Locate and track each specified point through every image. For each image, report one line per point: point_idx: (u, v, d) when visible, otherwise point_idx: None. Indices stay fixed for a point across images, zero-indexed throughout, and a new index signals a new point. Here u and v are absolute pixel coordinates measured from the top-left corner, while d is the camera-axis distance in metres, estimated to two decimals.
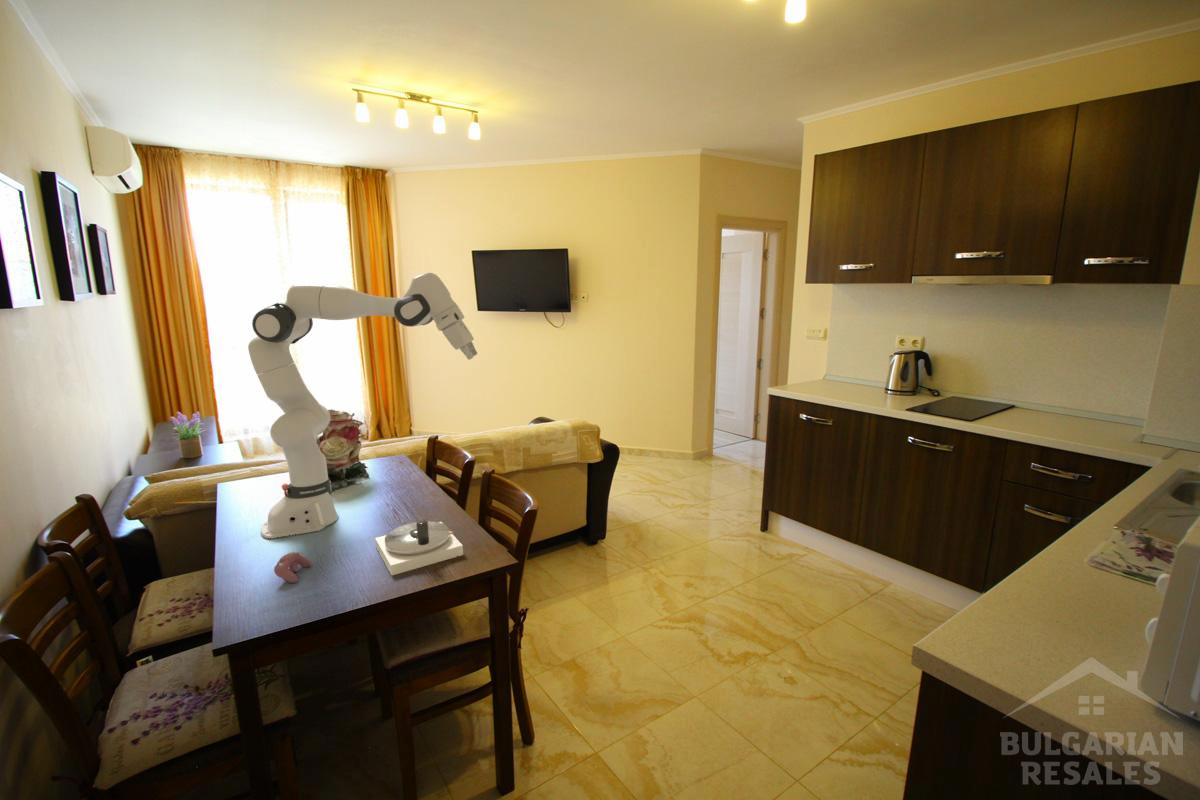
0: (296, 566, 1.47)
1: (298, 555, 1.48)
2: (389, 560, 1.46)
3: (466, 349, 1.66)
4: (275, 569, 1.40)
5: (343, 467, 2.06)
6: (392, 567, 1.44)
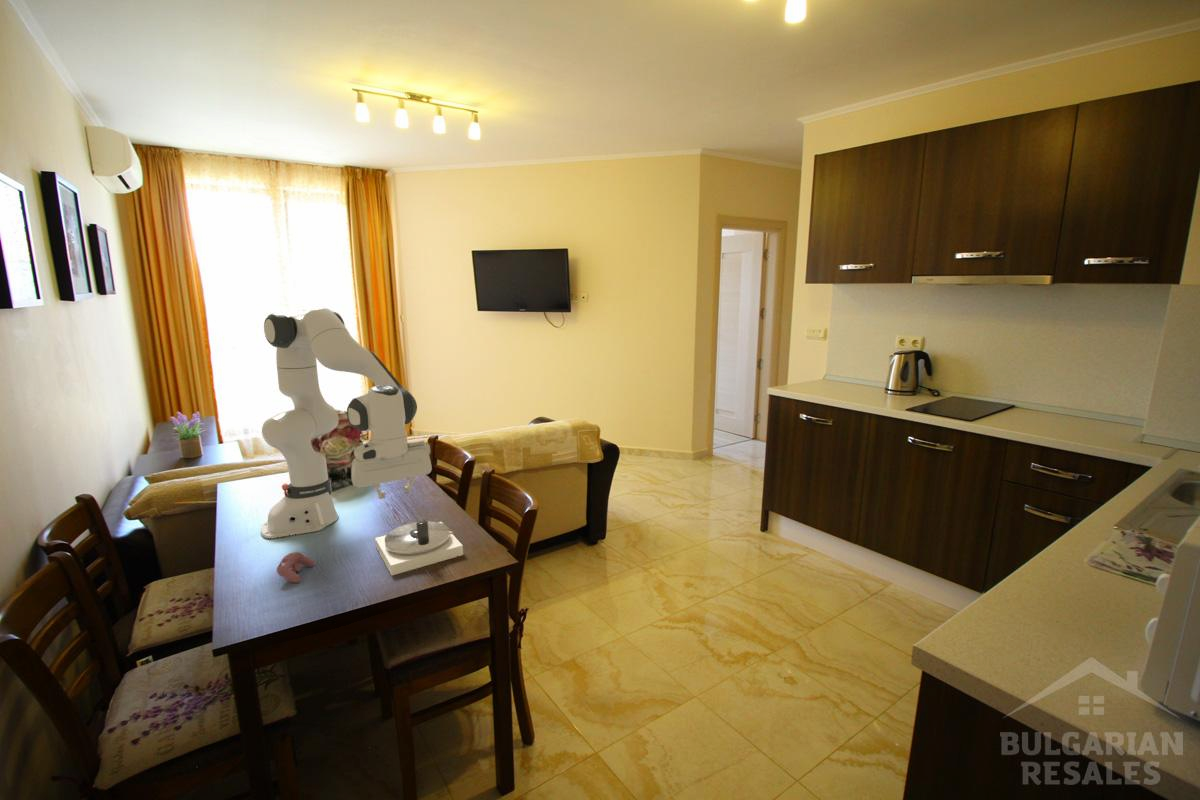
0: (298, 566, 1.47)
1: (300, 555, 1.48)
2: (389, 560, 1.46)
3: None
4: (278, 569, 1.40)
5: (345, 466, 2.07)
6: (392, 567, 1.44)
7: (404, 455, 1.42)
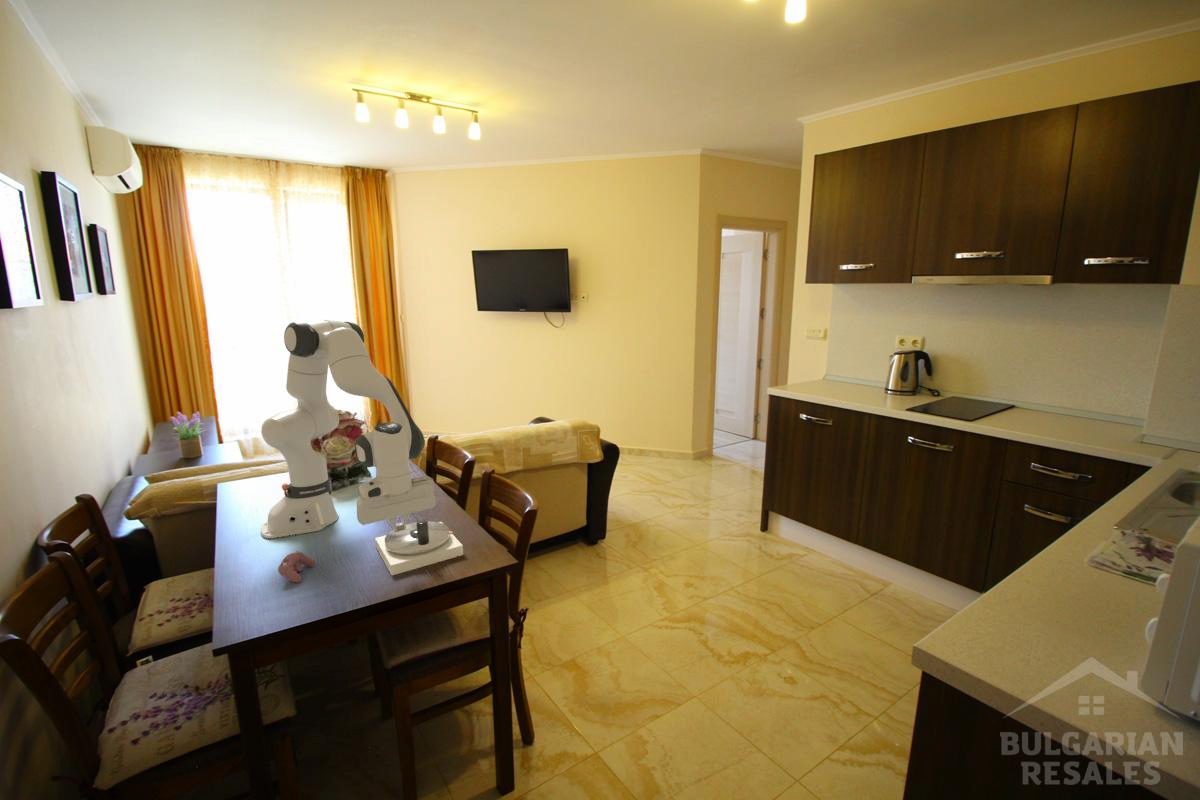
0: (300, 566, 1.47)
1: (302, 555, 1.48)
2: (389, 560, 1.46)
3: (390, 522, 1.44)
4: (279, 569, 1.40)
5: (346, 466, 2.08)
6: (392, 567, 1.44)
7: (408, 491, 1.45)
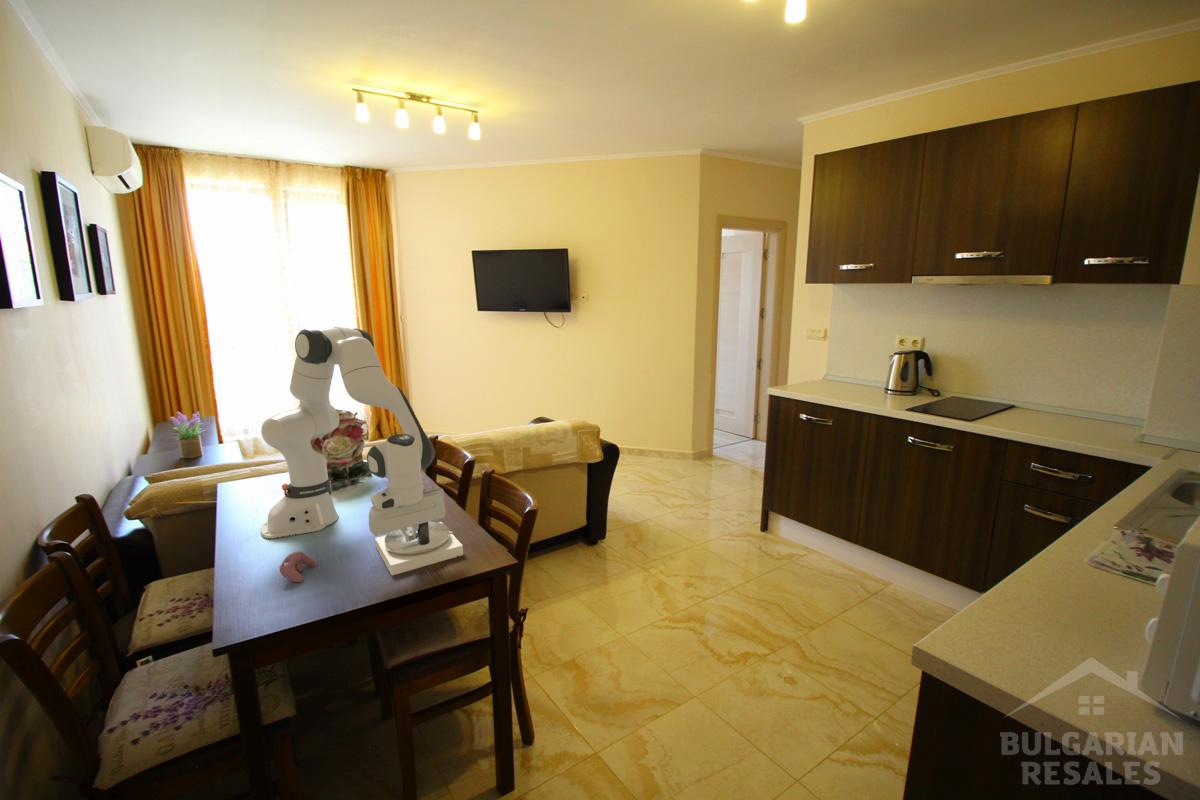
0: (301, 566, 1.47)
1: (303, 555, 1.48)
2: (389, 560, 1.46)
3: None
4: (280, 569, 1.40)
5: (347, 466, 2.08)
6: (392, 567, 1.44)
7: (420, 501, 1.47)
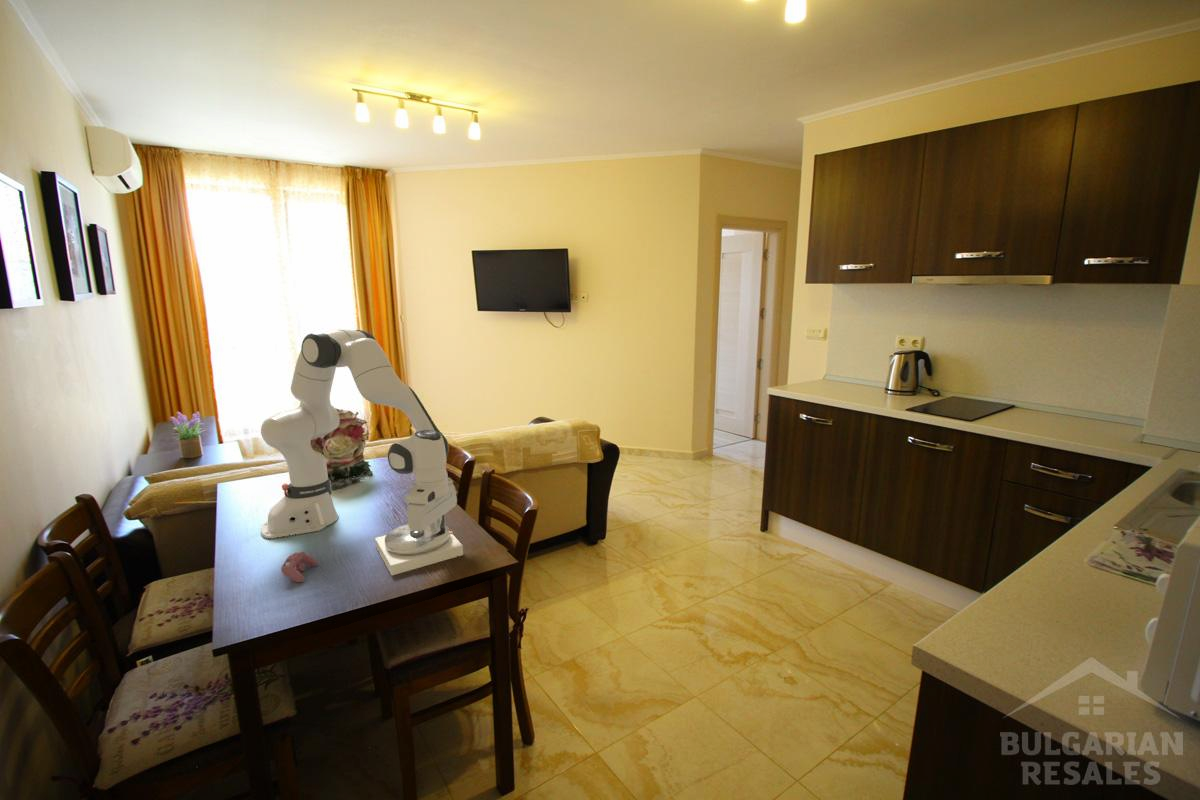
0: (302, 566, 1.47)
1: (304, 555, 1.48)
2: (389, 560, 1.46)
3: (433, 525, 1.51)
4: (282, 569, 1.40)
5: (348, 465, 2.09)
6: (392, 567, 1.44)
7: None
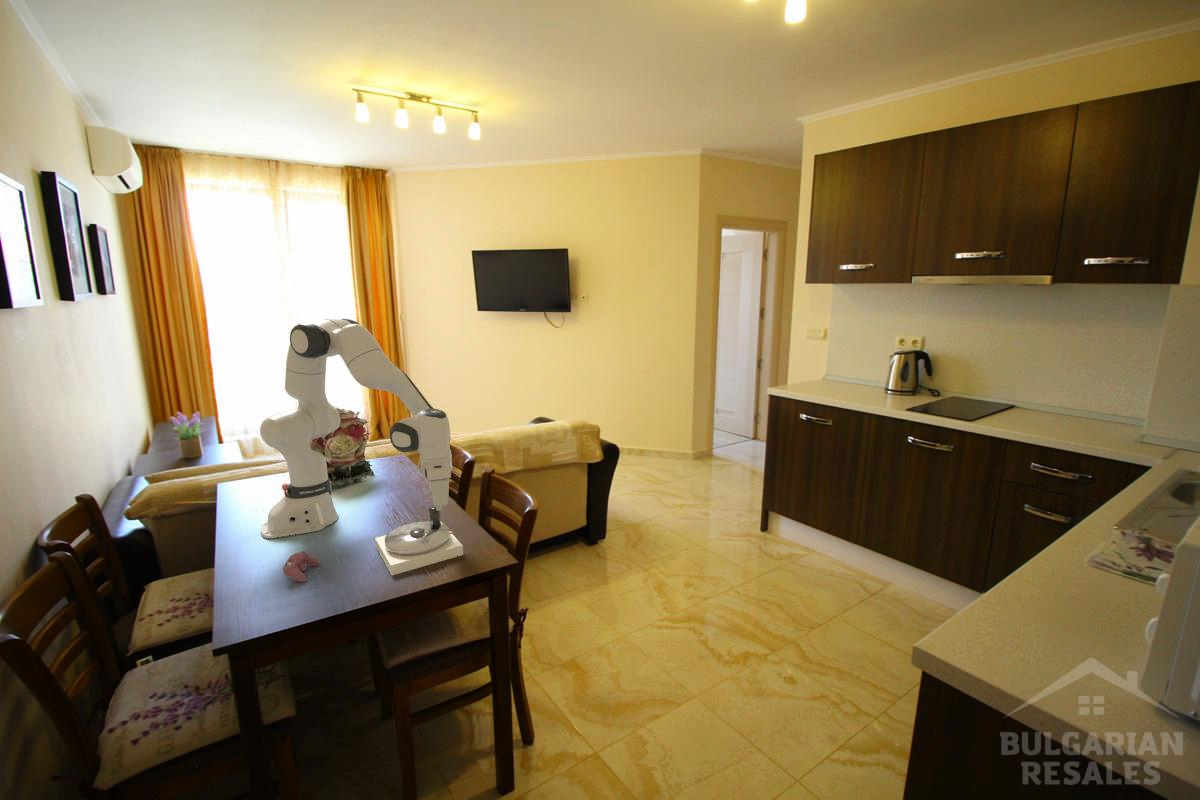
0: (304, 565, 1.47)
1: (306, 554, 1.48)
2: (389, 560, 1.46)
3: None
4: (284, 568, 1.40)
5: (349, 465, 2.09)
6: (392, 567, 1.44)
7: None
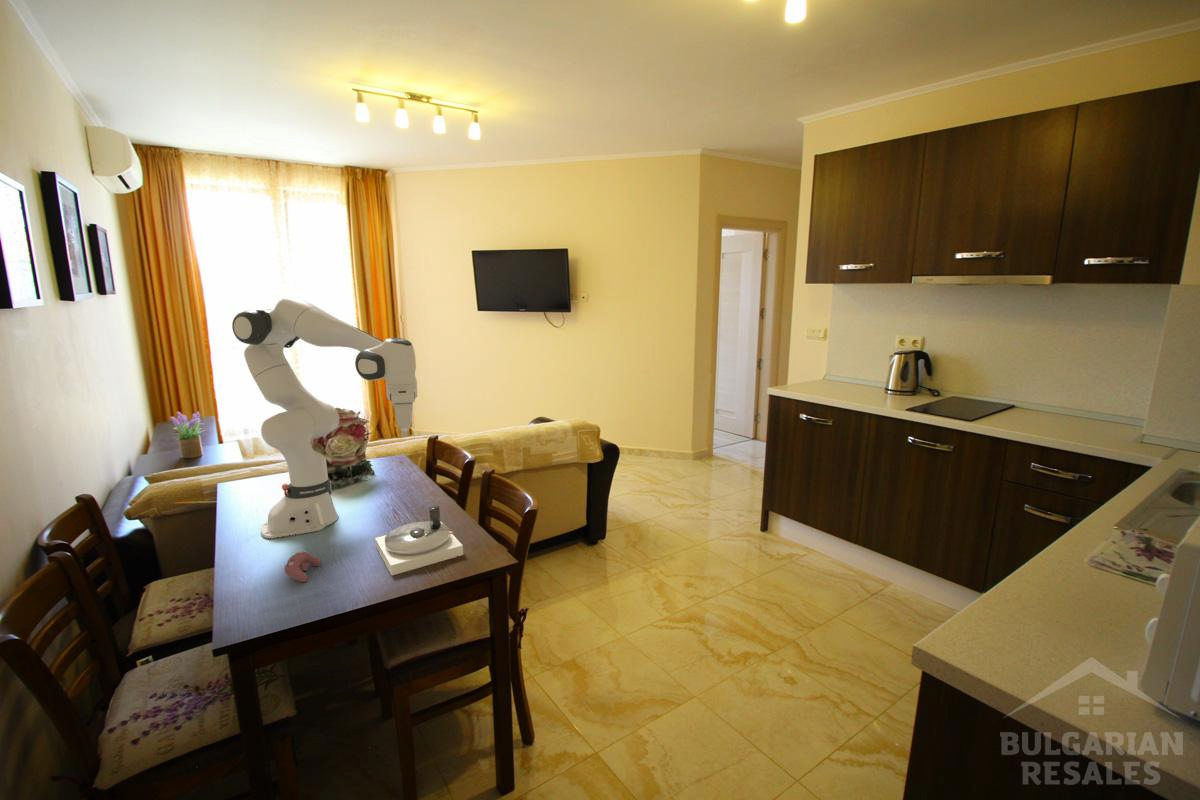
0: (305, 565, 1.47)
1: (307, 554, 1.48)
2: (389, 560, 1.46)
3: None
4: (285, 568, 1.40)
5: (350, 464, 2.10)
6: (392, 567, 1.44)
7: None
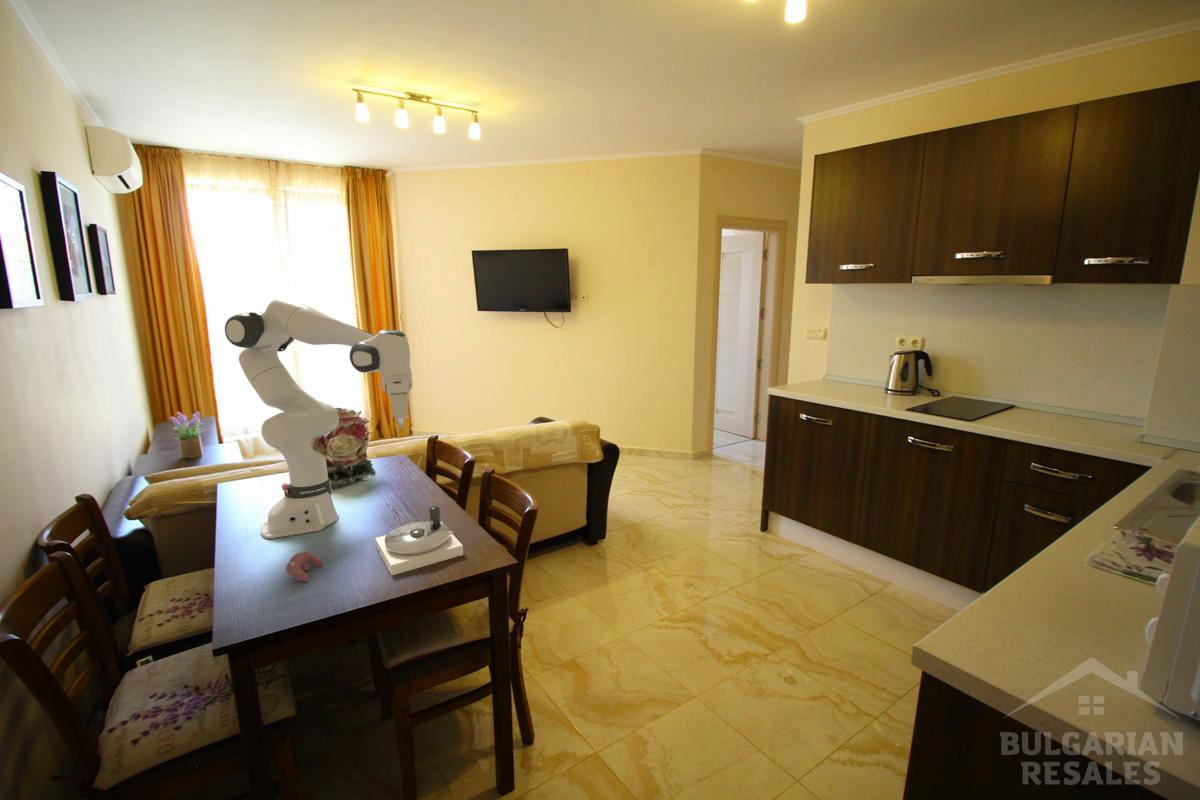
0: (307, 565, 1.47)
1: (309, 554, 1.48)
2: (389, 560, 1.46)
3: (402, 418, 1.63)
4: (287, 568, 1.40)
5: (352, 464, 2.10)
6: (392, 567, 1.44)
7: None
